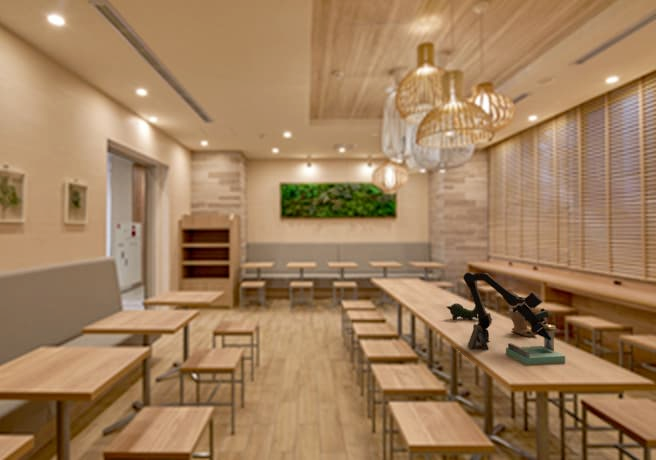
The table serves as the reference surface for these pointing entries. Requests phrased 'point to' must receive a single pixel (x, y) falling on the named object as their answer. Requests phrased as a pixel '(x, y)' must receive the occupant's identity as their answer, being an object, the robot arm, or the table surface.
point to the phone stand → (473, 339)
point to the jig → (534, 354)
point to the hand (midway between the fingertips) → (551, 337)
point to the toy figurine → (462, 311)
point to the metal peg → (550, 331)
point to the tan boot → (520, 324)
